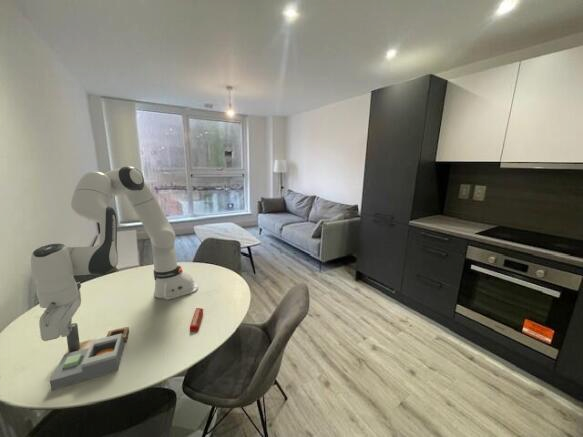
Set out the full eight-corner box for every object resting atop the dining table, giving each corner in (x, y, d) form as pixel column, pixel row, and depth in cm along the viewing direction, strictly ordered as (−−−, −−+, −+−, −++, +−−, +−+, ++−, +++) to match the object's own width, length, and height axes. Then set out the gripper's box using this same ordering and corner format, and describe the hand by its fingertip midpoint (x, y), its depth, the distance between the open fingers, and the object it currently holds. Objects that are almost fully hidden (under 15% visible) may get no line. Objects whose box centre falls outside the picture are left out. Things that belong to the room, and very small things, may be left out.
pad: (96, 340, 94) (96, 338, 94) (90, 354, 87) (90, 352, 87) (70, 346, 91) (70, 344, 90) (62, 361, 84) (61, 359, 83)
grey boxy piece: (124, 346, 91) (122, 333, 90) (118, 370, 80) (115, 355, 79) (66, 362, 83) (63, 347, 82) (51, 390, 73) (47, 374, 72)
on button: (82, 360, 82) (81, 353, 81) (79, 368, 79) (77, 360, 78) (69, 364, 80) (67, 356, 80) (65, 372, 77) (63, 364, 77)
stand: (129, 331, 99) (128, 326, 99) (126, 342, 93) (125, 336, 93) (109, 336, 96) (108, 331, 96) (105, 347, 90) (104, 342, 90)
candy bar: (198, 332, 100) (197, 326, 99) (188, 333, 99) (188, 327, 98) (204, 310, 115) (203, 305, 114) (196, 311, 114) (195, 306, 114)
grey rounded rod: (81, 345, 90) (78, 322, 88) (78, 351, 87) (75, 327, 85) (70, 347, 89) (67, 324, 87) (67, 353, 86) (64, 329, 84)
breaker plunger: (116, 353, 87) (115, 346, 86) (113, 363, 82) (112, 356, 82) (98, 357, 85) (97, 350, 84) (94, 368, 80) (93, 361, 80)
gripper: (58, 310, 66) (67, 352, 69) (82, 280, 84) (88, 314, 87) (27, 316, 64) (37, 360, 66) (58, 283, 81) (66, 319, 84)
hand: (66, 333), depth 77 cm, fingers closed
